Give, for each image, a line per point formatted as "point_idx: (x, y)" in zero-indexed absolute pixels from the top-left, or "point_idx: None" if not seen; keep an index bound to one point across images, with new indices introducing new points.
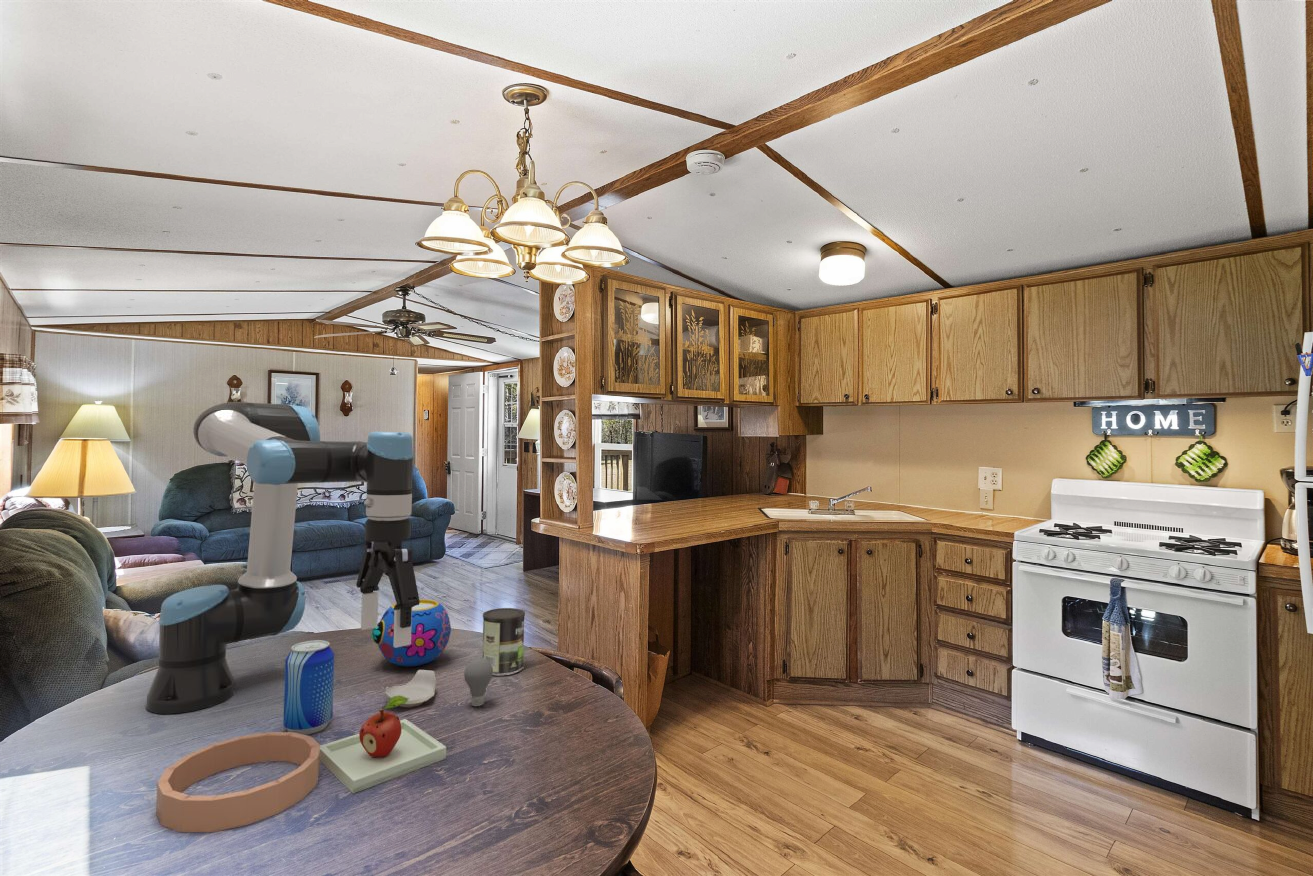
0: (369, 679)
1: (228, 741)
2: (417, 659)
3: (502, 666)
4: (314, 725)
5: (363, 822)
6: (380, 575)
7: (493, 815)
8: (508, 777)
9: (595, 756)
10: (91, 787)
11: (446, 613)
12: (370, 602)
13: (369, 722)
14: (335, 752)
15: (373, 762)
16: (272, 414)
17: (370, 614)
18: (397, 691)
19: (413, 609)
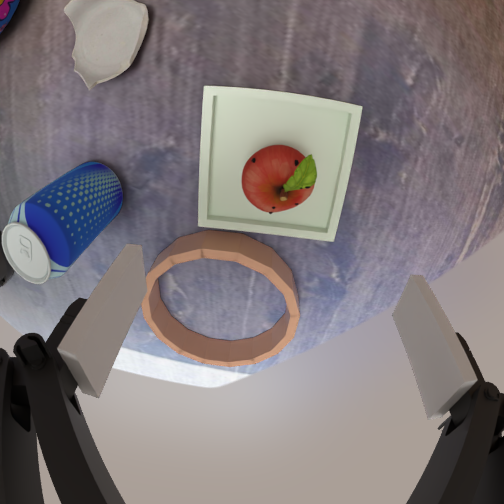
0: (8, 71)
1: (146, 307)
2: (16, 2)
3: None
4: (121, 197)
5: (387, 254)
6: (100, 483)
7: (485, 173)
8: (458, 102)
9: (494, 16)
10: (127, 347)
11: None
12: (105, 345)
13: (270, 204)
14: (216, 205)
15: None
16: None
17: (125, 305)
18: (87, 53)
19: None
